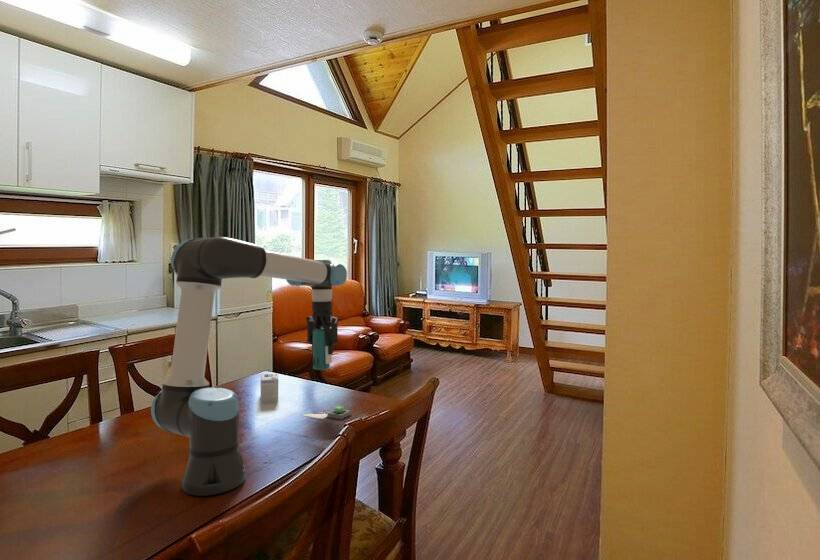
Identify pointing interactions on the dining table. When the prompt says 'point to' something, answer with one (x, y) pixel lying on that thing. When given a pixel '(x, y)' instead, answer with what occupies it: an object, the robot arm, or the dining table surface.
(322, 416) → the cream rectangular board
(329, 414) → the button box
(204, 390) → the robot arm
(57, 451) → the dining table surface
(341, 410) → the button
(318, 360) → the beverage bottle
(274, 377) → the light bulb box
